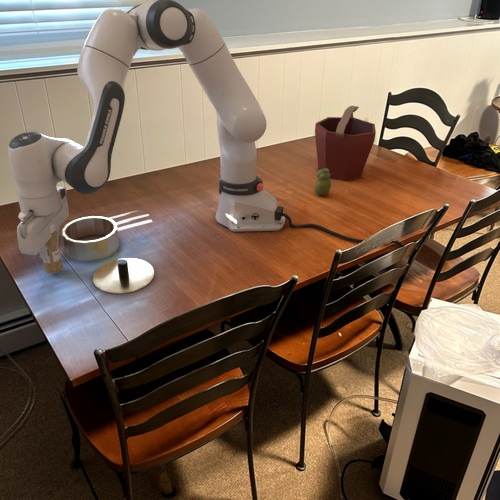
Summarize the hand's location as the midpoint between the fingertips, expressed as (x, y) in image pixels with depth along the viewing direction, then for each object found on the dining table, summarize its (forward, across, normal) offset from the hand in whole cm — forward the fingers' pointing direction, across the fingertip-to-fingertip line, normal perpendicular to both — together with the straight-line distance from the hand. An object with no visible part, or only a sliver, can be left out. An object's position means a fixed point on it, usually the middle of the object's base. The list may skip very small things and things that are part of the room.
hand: (50, 250), depth 124 cm
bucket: (+8, +81, -81) cm, 115 cm away
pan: (+8, +14, -5) cm, 17 cm away
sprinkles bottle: (+6, 0, 0) cm, 6 cm away
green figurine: (+8, +59, -72) cm, 93 cm away
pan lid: (+7, +1, -18) cm, 19 cm away
